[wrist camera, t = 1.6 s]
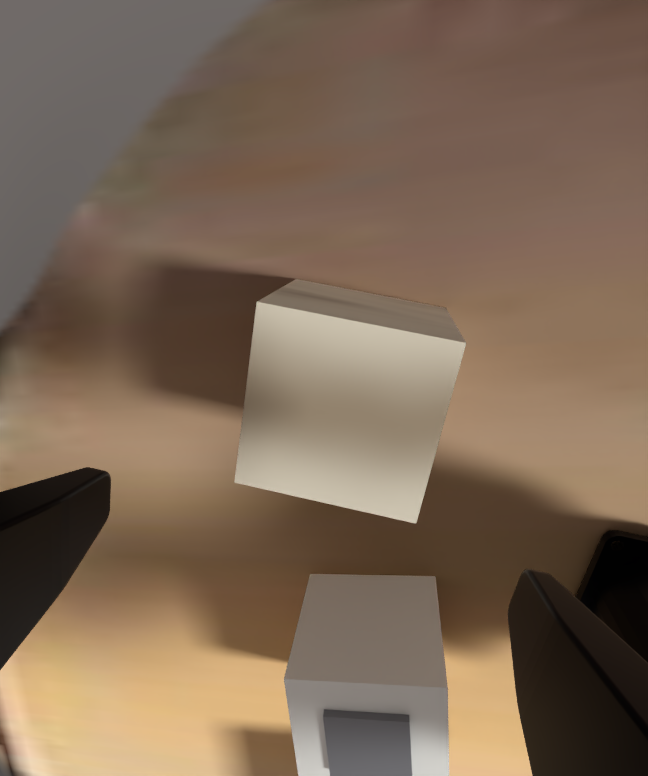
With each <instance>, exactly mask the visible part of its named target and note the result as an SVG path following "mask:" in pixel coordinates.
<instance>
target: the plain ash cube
mask: <svg viewBox="0 0 648 776" xmlns="http://www.w3.org/2000/svg"><path fill="white" fill-rule="evenodd" d="M465 346H466V342H465V340H464V338H463V337H462V335H461V333H460V331H459V330H458V328H457V326H456V324H455V323H454V321H453V319H452V317H451V316H450V314H449V312H448V310H447V309H446V308H444V307H439V306H434V305H429V304H424V303H418V302H413V301H408V300H403V299H398V298H392V297H387V296H382V295H377V294H372V293H367V292H361V291H356V290H351V289H346V288H341V287H335V286H330V285H325V284H320V283H315V282H310V281H304V280H299V279H295V280H294V281H292V282H290V283H288V284H287V285H285V286H283V287H281V288H280V289H278V290H276V291H274V292H273V293H271V294H269V295H267V296H266V297H264V298H262V299H260V300H259V301H257V304H256V312H255V320H254V328H253V336H252V344H251V352H250V360H249V368H248V376H247V384H246V393H245V401H244V409H243V417H242V425H241V433H240V441H239V449H238V457H237V465H236V474H235V482H234V483H239V484H243V485H247V486H252V487H256V488H261V489H265V490H269V491H274V492H278V493H283V494H287V495H292V496H296V497H300V498H305V499H309V500H314V501H318V502H322V503H327V504H331V505H336V506H340V507H344V508H349V509H353V510H358V511H362V512H367V513H371V514H375V515H380V516H384V517H389V518H393V519H397V520H402V521H406V522H411V523H415V524H416V523H417V519H418V515H419V512H420V508H421V504H422V501H423V497H424V494H425V490H426V486H427V483H428V479H429V476H430V472H431V468H432V465H433V461H434V458H435V454H436V450H437V447H438V443H439V439H440V436H441V432H442V429H443V425H444V421H445V418H446V414H447V411H448V407H449V403H450V400H451V396H452V393H453V389H454V385H455V382H456V378H457V374H458V371H459V367H460V364H461V360H462V356H463V353H464V349H465Z"/></svg>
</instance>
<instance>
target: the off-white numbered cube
mask: <svg viewBox="0 0 648 776" xmlns="http://www.w3.org/2000/svg"><path fill="white" fill-rule="evenodd" d="M284 682H285V689H286V696H287V703H288V709H289V716H290V723H291V729H292V736H293V743H294V750H295V756H296V763H297V770H298V776H449V738H448V687H447V677H446V668H445V659H444V650H443V640H442V631H441V622H440V613H439V604H438V594H437V585H436V576H399V575H346V574H310V576H309V580H308V584H307V588H306V592H305V596H304V600H303V604H302V608H301V612H300V617H299V621H298V625H297V629H296V633H295V637H294V641H293V645H292V649H291V653H290V657H289V661H288V665H287V669H286V673H285V677H284Z"/></svg>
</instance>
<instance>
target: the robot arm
mask: <svg viewBox="0 0 648 776" xmlns="http://www.w3.org/2000/svg"><path fill="white" fill-rule="evenodd" d="M110 490H111V478H110V474H109V473H108V472H106V471H103V470H98V469H94V468H90V467H86V468H83V469H79V470H76V471H72V472H69V473H65V474H62V475H58V476H55V477H51V478H48V479H44V480H41V481H37V482H34V483H30V484H27V485H24V486H20V487H17V488H13V489H10V490H6V491H3V492H0V670H1V668H2V667H3V666H4V665H5V663H6V662H7V661H8V660H9V658H10V657H11V656H12V654H13V653H14V652H15V651H16V649H17V648H18V647H19V646H20V644H21V643H22V642H23V640H24V639H25V638H26V637H27V635H28V634H29V633H30V632H31V630H32V629H33V628H34V626H35V625H36V624H37V623H38V621H39V620H40V619H41V618H42V616H43V615H44V614H45V612H46V611H47V610H48V609H49V607H50V606H51V605H52V604H53V602H54V601H55V600H56V598H57V597H58V596H59V594H60V593H61V592H62V590H63V589H64V587H65V586H66V584H67V583H68V581H69V580H70V578H71V576H72V575H73V573H74V572H75V570H76V569H77V567H78V565H79V564H80V562H81V561H82V559H83V557H84V556H85V554H86V553H87V551H88V549H89V548H90V546H91V545H92V543H93V542H94V540H95V538H96V537H97V535H98V534H99V532H100V530H101V529H102V527H103V526H104V524H105V522H106V520H107V518H108V515H109V511H110ZM615 541H620V542H619V543H618V544H616V545H611V544H612V543H613V542H615ZM508 622H509V631H510V641H511V650H512V659H513V669H514V678H515V688H516V696H517V703H518V709H519V714H520V719H521V724H522V729H523V733H524V738H525V742H526V747H527V752H528V756H529V761H530V766H531V770H532V775H533V776H648V537H645V536H641V535H636V534H632V533H627V532H623V531H618V530H612V531H608V532H606V533H605V534H604V535H603V536H602V538H601V540H600V542H599V545H598V547H597V549H596V551H595V554H594V556H593V558H592V561H591V563H590V565H589V568H588V570H587V572H586V574H585V577H584V579H583V581H582V584H581V586H580V588H579V591H578V593H577V595H576V597H575V596H574V595H573V594H572V593H570V592H569V591H568V590H567V589H566V588H565V587H564V586H563V585H562V584H560V583H559V582H558V581H557V580H556V579H555V578H554V577H553V576H552V575H550V574H548V573H546V572H541V571H537V570H532V569H526V570H524V571H523V572H522V574H521V576H520V578H519V581H518V584H517V586H516V589H515V591H514V594H513V596H512V599H511V601H510V604H509V609H508Z"/></svg>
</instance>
